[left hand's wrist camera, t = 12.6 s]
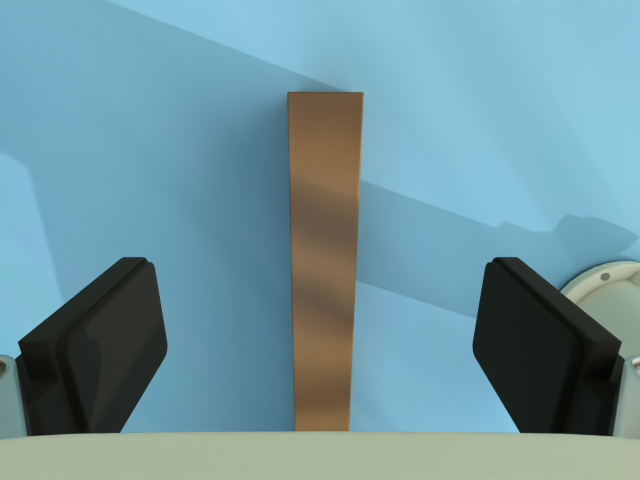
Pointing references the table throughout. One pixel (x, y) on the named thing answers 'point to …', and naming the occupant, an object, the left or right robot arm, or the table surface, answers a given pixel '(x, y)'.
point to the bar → (323, 251)
